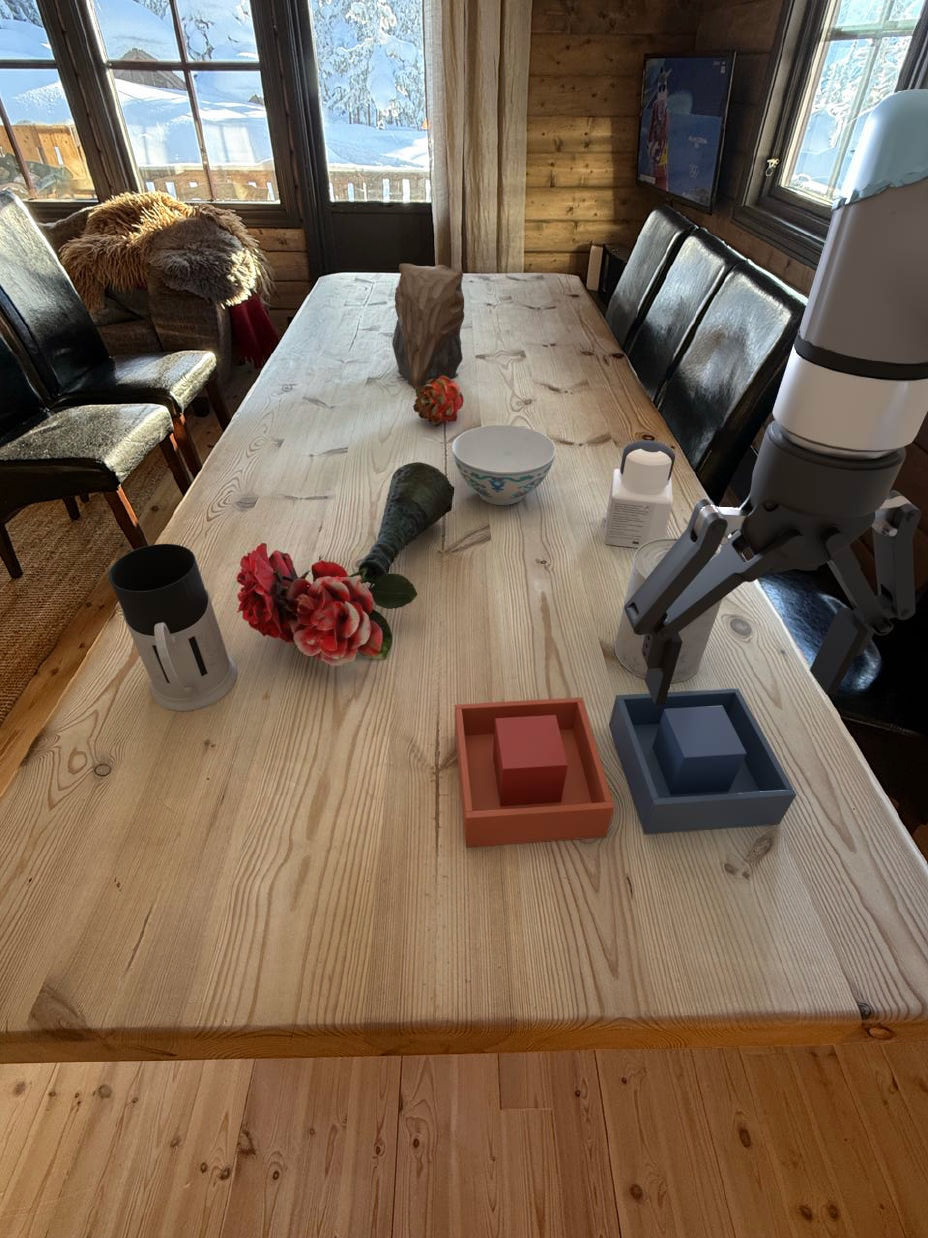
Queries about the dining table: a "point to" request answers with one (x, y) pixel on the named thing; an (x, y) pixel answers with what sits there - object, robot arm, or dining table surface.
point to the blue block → (698, 750)
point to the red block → (529, 760)
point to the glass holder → (173, 626)
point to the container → (640, 495)
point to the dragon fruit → (438, 400)
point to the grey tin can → (691, 635)
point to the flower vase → (345, 579)
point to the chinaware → (503, 461)
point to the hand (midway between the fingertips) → (738, 687)
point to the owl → (428, 323)
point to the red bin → (569, 819)
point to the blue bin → (748, 802)
